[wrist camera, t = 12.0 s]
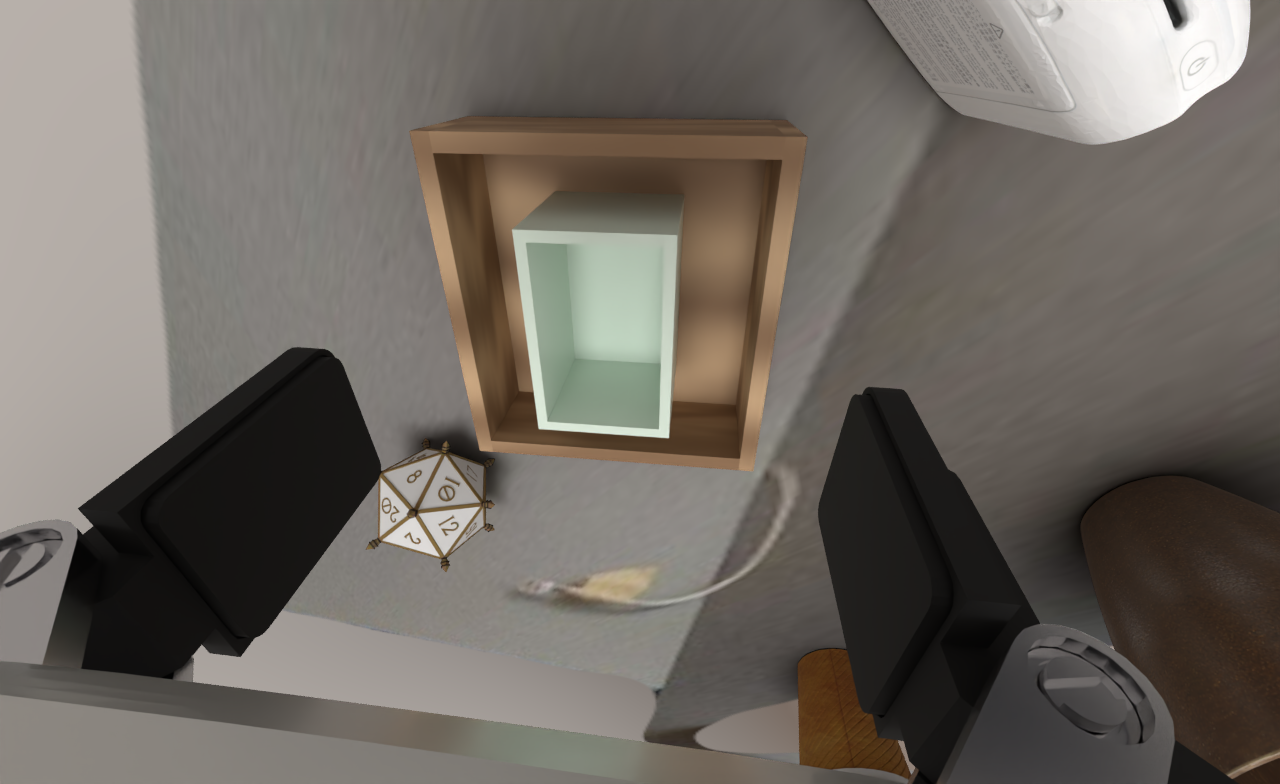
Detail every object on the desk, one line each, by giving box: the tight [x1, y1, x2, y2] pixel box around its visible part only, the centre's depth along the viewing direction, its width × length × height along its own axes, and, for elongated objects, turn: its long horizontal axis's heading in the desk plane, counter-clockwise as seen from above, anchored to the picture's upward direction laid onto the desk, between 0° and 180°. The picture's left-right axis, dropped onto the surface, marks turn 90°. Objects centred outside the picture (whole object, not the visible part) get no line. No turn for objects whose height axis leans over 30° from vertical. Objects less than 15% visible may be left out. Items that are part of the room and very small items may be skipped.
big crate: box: [409, 116, 808, 471], centre depth 27 cm, size 17×16×6 cm
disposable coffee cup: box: [798, 649, 911, 784], centre depth 43 cm, size 10×10×12 cm
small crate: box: [512, 191, 684, 438], centre depth 26 cm, size 10×7×7 cm, turn 0°
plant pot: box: [1080, 476, 1280, 784], centre depth 28 cm, size 15×15×16 cm
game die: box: [366, 438, 495, 572], centre depth 36 cm, size 9×8×10 cm
